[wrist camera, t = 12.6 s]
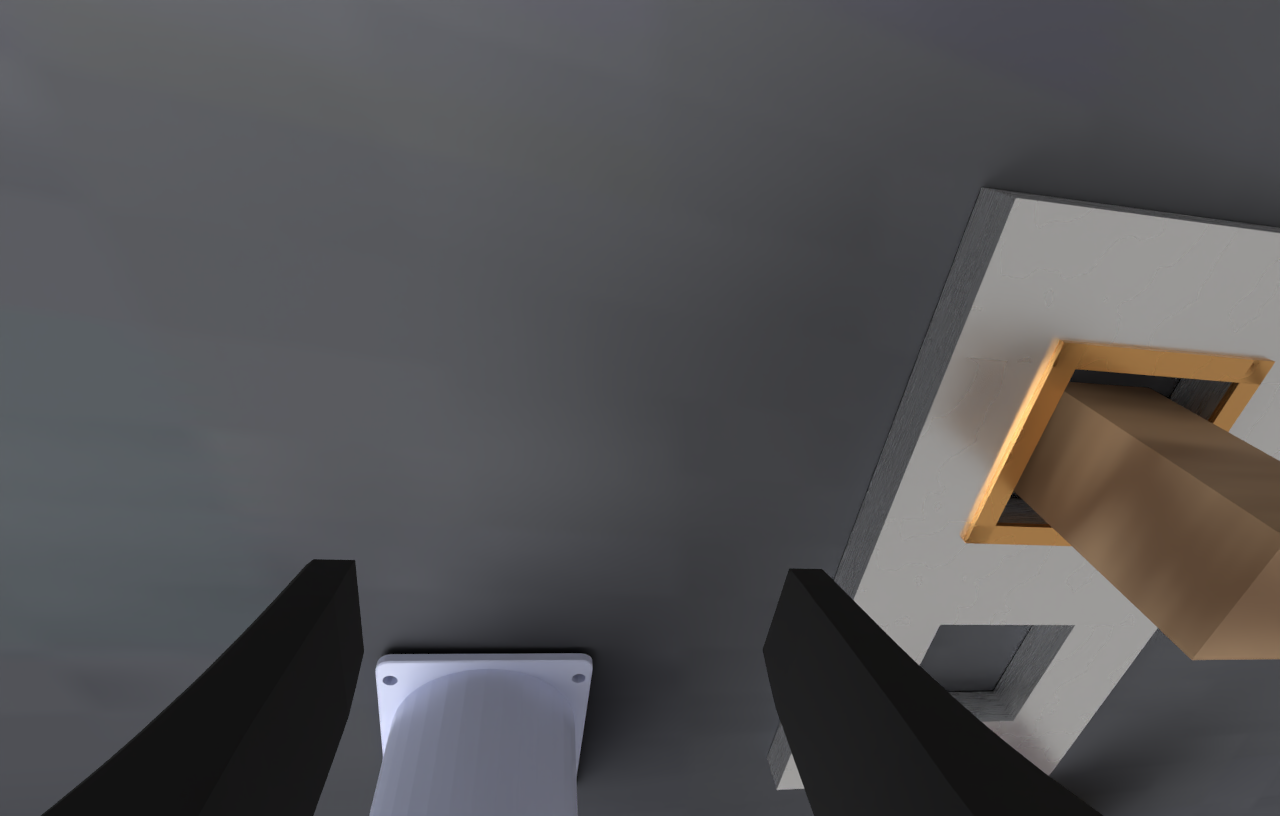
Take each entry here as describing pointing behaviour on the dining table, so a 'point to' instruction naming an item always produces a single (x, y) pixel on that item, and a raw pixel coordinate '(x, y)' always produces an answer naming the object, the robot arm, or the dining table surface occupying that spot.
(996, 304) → the rail
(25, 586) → the dining table surface
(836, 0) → the dining table surface
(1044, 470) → the walnut peg
